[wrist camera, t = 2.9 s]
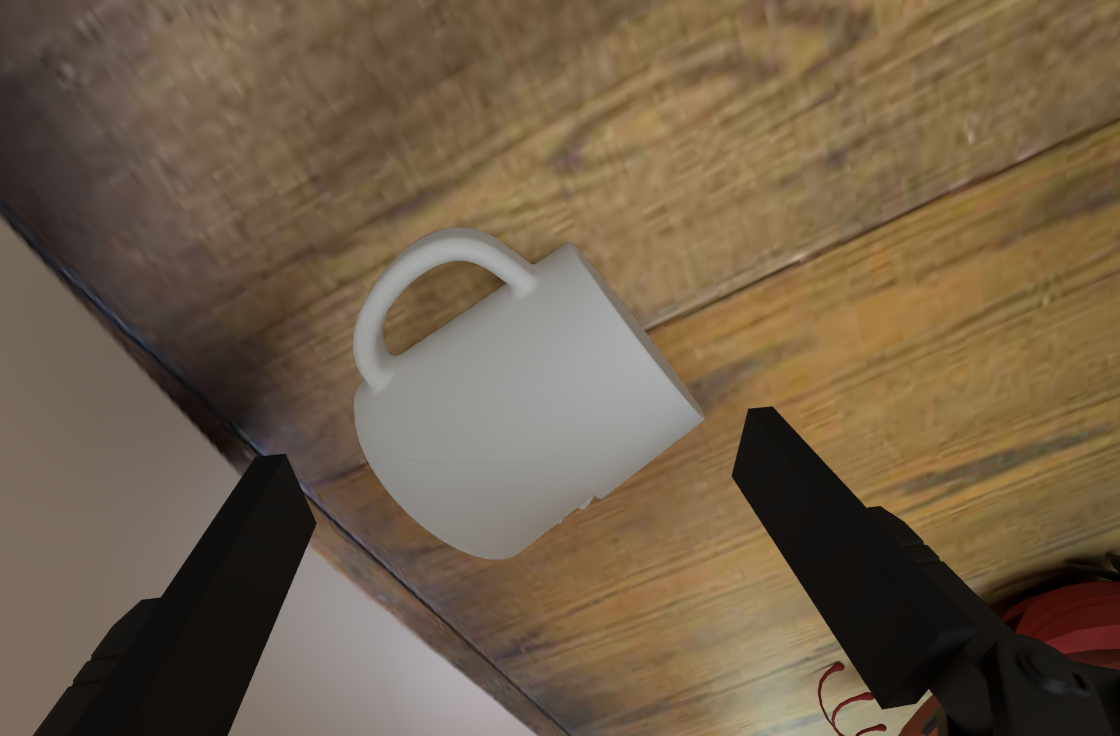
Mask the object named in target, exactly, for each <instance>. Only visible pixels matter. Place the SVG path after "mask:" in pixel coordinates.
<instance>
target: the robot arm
mask: <svg viewBox="0 0 1120 736" xmlns="http://www.w3.org/2000/svg"><path fill="white" fill-rule="evenodd" d="M732 478H733V479H734V481H735V482H736V484H737V485H738V487H739V488H740V490H741V492H742V493H743V495H744V496H745V498H746V499H747V501H748V502H749V504H750V505H751V507H752V509H753V510H754V512H755V513H756V515H757V516H758V518H759V519H760V521H761V523H762V524H763V526H764V527H765V529H766V530H767V532H768V533H769V535H770V536H771V538H772V540H773V541H774V543H775V544H776V546H777V547H778V549H779V550H780V552H781V554H782V555H783V557H784V558H785V560H786V561H787V563H788V564H789V566H790V567H791V569H792V571H793V572H794V574H795V575H796V577H797V578H798V580H799V581H800V583H801V585H802V586H803V588H804V589H805V591H806V592H807V594H808V595H809V597H810V598H811V600H812V602H813V603H814V605H815V606H816V608H817V609H818V611H819V612H820V614H821V616H822V617H823V619H824V620H825V622H826V623H827V625H828V626H829V628H830V629H831V631H832V633H833V634H834V636H835V637H836V639H837V640H838V642H839V643H840V645H841V647H842V648H843V650H844V651H845V653H846V654H847V656H848V657H849V659H850V660H851V662H852V664H853V665H854V667H855V668H856V670H857V671H858V673H859V674H860V676H861V678H862V679H863V681H864V682H865V684H866V685H867V687H868V688H869V690H870V691H871V693H872V695H873V696H874V698H875V699H876V701H877V702H878V704H879V705H880V707H881V709H882V710H883V709H888V708H894V707H900V706H905V705H911V704H916V703H917V702H918V701H919V700H920V699H921V697H922V696H923V695H924V694H925V693H926V692H927V690H928V689H929V690H930V691H931V692H932V694H933V695H934V696H935V698H936V699H937V700H938V702H939V703H940V704H939V706H938V707H937V708H936V709H935V710H934V711H933V712H932V713H931V714H930V716H929V717H928V718H927V719H926V720H925V721H924V722H923V725H922V729H921V733H922V734H924V735H926V736H928V735H929V734H930V733H931V732H932V731H933V730H934V729H935V728H936V727H937V734H938V736H1120V670H1117V669H1112V668H1106V667H1101V666H1096V665H1090V664H1085V663H1080V662H1074V661H1072V660H1071V659H1069V658H1068V657H1067V656H1065V655H1064V654H1063V653H1061V652H1060V651H1059V650H1057V649H1056V648H1054V647H1052V646H1050V645H1048V644H1046V643H1045V642H1043V641H1041V640H1039V639H1037V638H1033V637H1030V636H1026V635H1023V634H1016V633H1015V632H1014V631H1013V630H1012V629H1011V628H1009V627H1008V626H1007V625H1006V624H1005V623H1004V622H1003V621H1002V620H1001V619H1000V618H999V617H998V616H997V615H996V614H995V613H994V612H993V611H992V610H991V609H990V608H989V607H988V606H987V605H986V604H985V603H984V602H983V601H982V600H981V599H980V598H979V597H978V596H977V595H976V594H975V593H974V592H973V591H972V590H971V589H970V588H969V587H968V586H967V585H966V584H965V583H964V582H963V581H962V580H961V579H960V578H959V577H958V576H957V575H956V574H955V573H954V572H953V571H952V570H951V569H950V568H949V567H948V566H947V564H946V563H945V562H941V561H940V559H939V556H938V555H937V554H936V553H935V552H934V551H933V550H932V549H931V548H930V547H929V546H928V545H924V543H923V540H922V539H921V538H920V537H919V536H918V535H917V534H916V533H915V532H914V531H913V530H912V529H911V528H910V527H909V526H908V525H907V524H906V523H905V522H904V521H902V520H901V519H899V518H898V517H896V516H895V515H893V514H892V513H890V512H888V511H887V510H885V509H884V508H882V507H881V506H876V507H868V508H866V507H865V506H864V504H863V503H862V502H861V501H860V500H859V499H858V498H857V497H856V496H855V495H854V494H853V493H852V492H851V490H850V489H849V488H848V487H847V486H846V485H845V484H844V483H843V482H842V481H841V480H840V479H839V478H838V477H837V475H836V474H835V473H834V472H833V471H832V470H831V469H830V468H829V467H828V466H827V465H826V464H825V463H824V461H823V460H822V459H821V458H820V457H819V456H818V455H817V454H816V453H815V452H814V451H813V450H812V449H811V447H810V446H809V445H808V444H807V443H806V442H805V441H804V440H803V439H802V438H801V437H800V436H799V435H798V433H797V432H796V431H795V430H794V429H793V428H792V427H791V426H790V425H789V424H788V423H787V422H786V421H785V420H784V418H783V417H782V416H781V415H780V414H779V413H778V412H777V411H776V410H775V409H774V408H773V407H762V408H751V409H748V412H747V416H746V420H745V424H744V428H743V432H742V436H741V440H740V444H739V448H738V452H737V457H736V461H735V465H734V469H733V473H732ZM316 524H317V523H316V521H315V518H314V516H313V514H312V512H311V509H310V507H309V505H308V503H307V500H306V498H305V496H304V494H303V491H302V489H301V487H300V485H299V482H298V480H297V478H296V476H295V473H294V471H293V469H292V467H291V464H290V462H289V460H288V458H287V455H286V454H279V455H269V456H259V457H255V458H254V460H253V461H252V463H251V464H250V466H249V467H248V469H247V470H246V472H245V473H244V475H243V476H242V478H241V479H240V481H239V482H238V484H237V485H236V487H235V488H234V490H233V491H232V493H231V494H230V496H229V497H228V499H227V500H226V501H225V503H224V504H223V506H222V507H221V509H220V510H219V512H218V514H217V515H216V516H215V518H214V519H213V521H212V522H211V524H210V525H209V527H208V528H207V530H206V531H205V533H204V534H203V536H202V537H201V539H200V540H199V542H198V543H197V545H196V546H195V548H194V549H193V551H192V552H191V554H190V555H189V557H188V558H187V559H186V561H185V562H184V564H183V565H182V567H181V568H180V570H179V571H178V573H177V574H176V576H175V577H174V579H173V580H172V582H171V583H170V585H169V586H168V588H167V589H166V591H165V592H164V594H163V595H162V597H161V598H153V599H145V600H141V601H140V602H139V603H138V604H136V605H135V606H134V607H133V608H132V609H131V610H130V611H129V612H128V613H126V614H125V615H124V616H123V617H122V618H121V619H120V620H119V621H118V622H117V623H116V624H114V625H113V626H112V628H111V629H110V630H109V632H108V633H107V635H106V636H105V637H104V639H103V640H102V641H101V643H100V644H99V645H98V647H97V648H96V650H95V651H94V652H93V654H92V655H91V656H92V657H91V660H90V661H87V662H86V663H85V665H84V666H83V667H82V669H81V670H80V672H79V673H78V674H77V676H76V677H75V679H74V680H73V685H72V686H71V687H68V688H67V689H66V691H65V692H64V693H63V695H62V696H61V698H60V699H59V700H58V702H57V703H56V705H55V706H54V707H53V709H52V710H51V711H50V713H49V714H48V715H47V717H46V718H45V720H44V721H43V722H42V724H41V725H40V726H39V728H38V729H37V730H36V732H35V733H34V735H33V736H228V733H229V731H230V729H231V726H232V724H233V722H234V719H235V717H236V714H237V712H238V710H239V707H240V705H241V702H242V700H243V698H244V695H245V693H246V691H247V688H248V686H249V683H250V681H251V678H252V676H253V674H254V671H255V669H256V666H257V664H258V662H259V660H260V657H261V655H262V652H263V650H264V648H265V645H266V643H267V641H268V638H269V635H270V633H271V631H272V629H273V626H274V624H275V621H276V619H277V616H278V614H279V612H280V609H281V607H282V605H283V602H284V600H285V598H286V595H287V593H288V590H289V588H290V586H291V583H292V581H293V579H294V576H295V574H296V571H297V569H298V567H299V564H300V562H301V559H302V557H303V555H304V552H305V549H306V548H307V545H308V543H309V540H310V538H311V536H312V533H313V531H314V529H315V526H316Z"/></svg>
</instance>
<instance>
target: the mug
mask: <svg viewBox="0 0 1120 736" xmlns="http://www.w3.org/2000/svg"><path fill="white" fill-rule="evenodd" d="M452 261H468V262H472V263H475V264H478V265H480V266H482V267H484V268H486V269H487V270H489V271H490V272H492V273H493V274H495V275H496V276H498V277H499V278H501V279H502V280H503V281H505V282H506V284H505V285H503V286H502V287H500V288H499V289H497V290H496V291H494V292H493V293H491V294H490V295H488V296H487V297H485V298H484V299H482V300H481V301H479V302H478V303H476V304H475V305H473V306H472V307H470V308H469V309H467V310H466V311H464V312H463V313H461V314H460V315H458V316H457V317H455V318H454V319H452V320H451V321H449V322H448V323H446V324H445V325H443V326H442V327H440V328H439V329H438V330H436V331H435V332H433V333H432V334H430V335H429V336H427V337H426V338H424V339H423V340H421V341H420V342H418V343H417V344H415V345H414V346H412V347H411V348H409V349H408V350H406V351H405V352H403V353H402V354H400V355H393V354H391V353H390V352H389V350H388V349H387V347H386V344H385V341H384V336H383V328H384V322H385V318H386V315H387V312H388V310H389V309H390V307H391V306H392V304H393V303H394V301H395V300H396V299H397V297H398V296H399V295H400V294H401V293H402V292H403V291H404V289H405V288H406V287H407V286H409V285H410V284H411V283H412V282H413V281H414V280H415V279H417V278H418V277H419V276H421V275H422V274H423V273H425V272H427V271H428V270H430V269H432V268H434V267H436V266H438V265H441V264H444V263H447V262H452ZM353 354H354V359H355V362H356V365H357V368H358V370H359V372H360V373H361V375H362V377H363V378H364V380H363V381H362V382H361V383H360V385H359V386H358V388H357V390H356V393H355V397H354V413H355V414H354V418H355V427H356V432H357V436H358V439H359V442H360V445H361V448H362V450H363V453H364V455H365V457H366V459H367V461H368V463H369V465H370V466H371V468H372V470H373V471H374V473H375V475H376V476H377V478H378V479H379V481H380V482H381V483H382V485H383V486H384V488H385V489H386V490H387V491H388V493H389V494H390V495H391V496H392V497H393V499H394V500H395V501H396V502H397V503H398V504H399V505H400V506H401V507H402V508H403V509H404V511H406V512H407V513H408V514H409V515H410V516H411V517H412V518H413V519H414V520H415V521H416V522H417V523H419V524H420V525H421V526H422V527H423V528H425V529H426V530H427V531H429V532H430V533H431V534H433V535H434V536H436V537H437V538H439V539H440V540H442V541H443V542H445V543H447V544H448V545H450V546H452V547H454V548H456V549H458V550H460V551H462V552H465V553H467V554H470V555H473V556H476V557H480V558H484V559H491V560H502V559H508V558H511V557H514V556H516V555H517V554H519V553H520V552H521V551H523V550H524V549H525V548H527V547H528V546H529V545H530V544H532V543H533V542H534V541H535V540H537V539H538V538H539V537H541V536H542V535H543V534H544V533H546V532H547V531H548V530H549V529H551V528H552V527H553V526H555V525H556V524H557V523H558V524H561V522H562V520H563V518H565V517H566V516H567V515H569V514H570V513H571V512H572V511H574V510H575V509H577V508H579V509H582V510H583V511H584V510H585V509H586V508H587V506H588V505H589V503H590V502H591V500H592V499H593V497H594V496H595V497H596V498H598V499H603V498H604V497H605V496H607V495H608V494H609V493H611V492H612V491H613V490H614V489H616V488H617V487H618V486H620V485H621V484H622V483H624V482H625V481H626V480H627V479H629V478H630V477H631V476H633V475H634V474H635V473H636V472H638V471H639V470H640V469H642V468H643V467H644V466H646V465H647V464H648V463H649V462H651V461H652V460H653V459H655V458H656V457H657V456H658V455H660V454H661V453H662V452H664V451H665V450H666V449H667V448H669V447H670V446H671V445H673V444H674V443H675V442H677V441H678V440H679V439H680V438H682V437H683V436H684V435H686V434H687V433H688V432H690V431H691V430H692V429H693V428H695V427H696V426H697V425H699V424H700V423H701V422H703V421H704V420H705V416H704V414H703V412H702V410H701V408H700V407H699V405H698V404H697V402H696V401H695V399H694V398H693V396H692V395H691V393H690V392H689V390H688V389H687V387H686V386H685V385H684V383H683V382H682V380H681V379H680V378H679V376H678V375H677V373H676V372H675V371H674V369H673V368H672V367H671V365H670V364H669V363H668V361H667V360H666V359H665V357H664V356H663V355H662V353H661V352H660V351H659V349H658V348H657V347H656V345H655V344H654V343H653V341H652V340H651V339H650V337H649V336H648V335H647V333H646V332H645V331H644V330H643V328H642V327H641V326H640V324H639V323H638V322H637V321H636V319H635V318H634V317H633V315H632V314H631V313H630V312H629V310H628V309H627V308H626V306H625V305H624V304H623V303H622V301H621V300H620V299H619V298H618V296H617V295H616V294H615V293H614V291H613V290H612V289H611V288H610V286H609V285H608V284H607V283H606V281H605V280H604V279H603V278H602V276H601V275H600V274H599V273H598V272H597V270H596V269H595V268H594V267H593V265H592V264H591V263H590V262H589V261H588V259H587V258H586V257H585V256H584V255H583V254H582V252H581V251H580V250H579V249H578V248H577V247H576V246H575V245H574V244H573V243H572V242H567V243H566V244H564V245H563V246H561V247H560V248H558V249H557V250H555V251H554V252H552V253H551V254H549V255H548V256H546V257H545V258H543V259H542V260H540V261H539V262H537V263H536V264H530V263H529V262H527V261H526V260H525V259H524V258H522V257H521V256H520V255H519V254H517V253H516V252H515V251H514V250H512V249H511V248H510V247H508V246H507V245H506V244H504V243H503V242H501V241H500V240H498V239H497V238H495V237H493V236H492V235H490V234H488V233H485V232H483V231H480V230H477V229H473V228H465V227H456V228H448V229H443V230H440V231H436V232H434V233H431V234H429V235H427V236H425V237H423V238H421V239H419V240H418V241H416V242H415V243H413V244H412V245H410V246H409V247H408V248H406V249H405V250H404V251H403V252H402V253H400V254H399V255H398V256H397V257H396V258H395V259H394V260H393V261H392V262H391V263H390V264H389V266H388V267H387V268H386V269H385V271H384V272H383V273H382V275H381V276H380V277H379V279H378V280H377V282H376V284H375V285H374V287H373V289H372V290H371V292H370V293H369V295H368V297H367V298H366V300H365V302H364V304H363V306H362V308H361V311H360V313H359V315H358V318H357V321H356V325H355V329H354V334H353Z"/></svg>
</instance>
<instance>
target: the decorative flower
mask: <svg viewBox="0 0 1120 736" xmlns="http://www.w3.org/2000/svg"><path fill="white" fill-rule="evenodd" d="M1107 555H1108V558H1109V560H1110V563H1111V564H1112V565H1113V567H1114V568H1115V569H1116V570H1117V571H1118V572H1115V571H1111V570H1107V569H1102V568H1098V567H1093V566H1087V565H1080V564H1072V563H1069V564H1071V565H1073V566H1075V567H1077V568H1079V569H1081V570H1083V571H1086V572H1088V573H1091V574H1094V575H1097V576H1100V577H1103V578H1106V579H1109V580H1112V581H1102V582H1085V583H1079V584H1073V585H1068V586H1064V587H1061V588H1058V589H1055V590H1052V591H1047V592H1044V593H1041V594H1039V595H1036V596H1033V597H1030V598H1027V599H1025V600H1024V601H1022V602H1020V603H1019V604H1017V605H1015V606H1014V607H1012V608H1010V609H1009V610H1008V611H1007V612H1006V613H1005V615H1004V616H1003V618H1002V619H1001V620H1002V621H1003V622H1004V623H1005V624H1006V625H1007V626H1008V627H1009V628H1011V629H1012V630H1013V631H1014V632H1015V633H1016V634H1023V635H1026V636H1030V637H1033V638H1037V639H1039V640H1041V641H1043V642H1045V643H1046V644H1048V645H1050V646H1052V647H1054V648H1056V649H1057V650H1059V651H1060V652H1061V653H1063V654H1064V655H1065V656H1067V657H1068V658H1069V659H1071V660H1072V661H1074V662H1080V663H1085V664H1090V665H1096V666H1101V667H1106V668H1112V669H1117V670H1120V556H1118V555H1113V554H1107ZM844 668H845V666H844V665H843V664H842V663H840V662H839V663H836V664H835V665H833V666H832V667H831V668H830V669H829V670H828V671H827V672H825V674H824V675H823V677H822V678H821V680H820V681H819V688H818V696H819V702H820V706H821V708H822V710H823V712H824V715H825V717H826V719H827V720H828V721H829V723H830V724H831V725H832V726H833V728H834V730H835V731H836V732H837V733H838V735H839V736H844V735H843V734H841V733H840V732H839V731H838V730H837V728H836V727H835V722H834V719H835V716H836V713H837V712H838V711H839V709H840V708H841V707H842V706H844V705H846V704H848V703H850V702H853V701H857V700H873V699H874V696H873V695H872V693H870V692H865V693H863V694H860V695H858V696H855V697H852V698H849V699H847V700H846V701H844V702H842V703H840V704H839V705H838V706H837V707H836V709H835V710H834V711H833V715H832V722H831V721H830V720H829V719H828V716H827V714H826V712H825V710H824V708H823V705H822V699H821V688H822V683H823V682H824V680H825V679H826V677H827V676H828V675H830V674H831V673H833V672H836V671H842V670H844ZM939 704H940V703H939V702H938V700H937V699H936V698H935V696H934V695H932V696H931V697H930V698H929V699H928V700H927V701H926V702H925V703H924V704H923V705H922V706H921V707H920V708H919V709H918V710H917V712H916V713H915V714H914V715H913V716H912V718H911V719H910V720H909V721H908V722H907V724H906V725H905V726H904V727H903V729H902V730H901V732H900V734H899V735H898V736H926V735H924V734H922V733H921V729H922V725H923V722H924V721H925V720H926V719H927V718H928V717H929V716H930V714H931V713H932V712H933V711H934V710H935V709H936V708H937V707H938V706H939ZM832 723H833V724H832ZM886 729H887V728H886V726H885V725H884V724H879V725H876V726H873V727H870V728H867V729H864V730H861V731H860V732H858V733H857V734H856V735H855V736H860V735H861V734H863V733H866V732H869V731H875V730H878V731H886ZM928 736H938V734H937V727H936V728H935V729H934V730H933V731H932V732H931V733H930V734H929V735H928Z"/></svg>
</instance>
